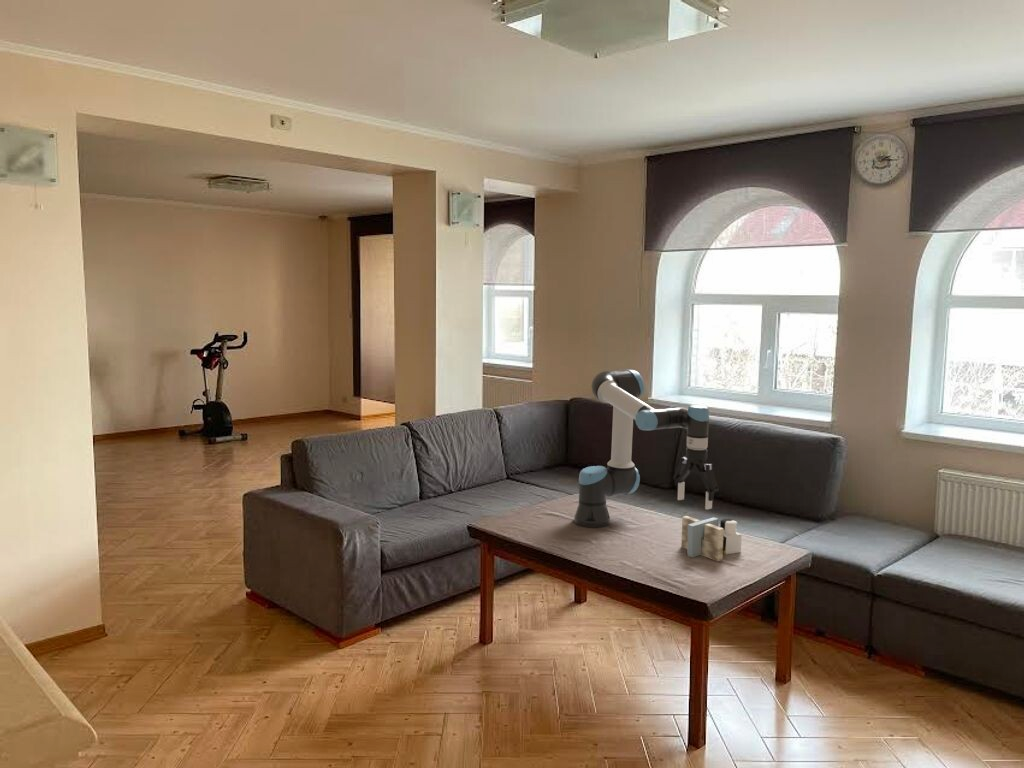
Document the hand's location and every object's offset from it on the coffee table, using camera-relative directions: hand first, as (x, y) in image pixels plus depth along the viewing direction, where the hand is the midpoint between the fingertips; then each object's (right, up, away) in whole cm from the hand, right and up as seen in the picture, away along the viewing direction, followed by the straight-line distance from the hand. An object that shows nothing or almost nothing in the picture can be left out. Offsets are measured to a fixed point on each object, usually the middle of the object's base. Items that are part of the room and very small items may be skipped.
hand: (694, 504), depth 274 cm
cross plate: (+5, -19, +5) cm, 20 cm away
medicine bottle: (+15, -19, +8) cm, 25 cm away
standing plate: (+4, -19, +5) cm, 20 cm away
